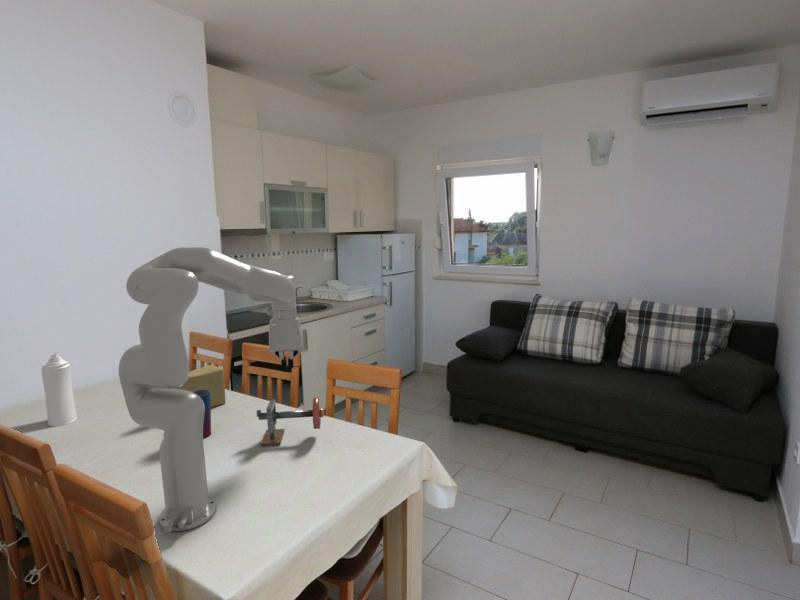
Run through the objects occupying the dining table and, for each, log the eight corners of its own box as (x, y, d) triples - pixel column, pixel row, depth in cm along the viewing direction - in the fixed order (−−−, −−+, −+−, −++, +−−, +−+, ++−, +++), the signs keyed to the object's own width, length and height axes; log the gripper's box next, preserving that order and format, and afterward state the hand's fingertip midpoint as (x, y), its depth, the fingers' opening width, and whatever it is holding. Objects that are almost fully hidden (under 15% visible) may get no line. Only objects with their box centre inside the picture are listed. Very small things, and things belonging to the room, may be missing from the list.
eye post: (280, 445, 148) (278, 409, 146) (261, 446, 148) (258, 410, 146) (284, 431, 158) (282, 397, 156) (266, 432, 157) (264, 398, 155)
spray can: (36, 423, 168) (26, 356, 164) (65, 412, 178) (56, 348, 174) (59, 427, 164) (49, 359, 160) (88, 415, 174) (79, 350, 170)
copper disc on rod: (323, 433, 149) (321, 404, 147) (255, 437, 147) (253, 407, 145) (324, 420, 159) (323, 392, 157) (261, 424, 157) (259, 396, 155)
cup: (206, 440, 152) (202, 397, 150) (187, 439, 154) (183, 395, 151) (218, 431, 159) (214, 389, 156) (200, 430, 160) (196, 388, 158)
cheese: (172, 423, 166) (168, 383, 163) (158, 417, 172) (154, 378, 169) (227, 403, 184) (224, 367, 181) (213, 398, 189) (209, 363, 187)
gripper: (257, 317, 142) (261, 375, 145) (308, 315, 144) (311, 372, 147) (261, 313, 149) (265, 368, 152) (310, 311, 151) (312, 365, 154)
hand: (287, 370), depth 150 cm, fingers closed
